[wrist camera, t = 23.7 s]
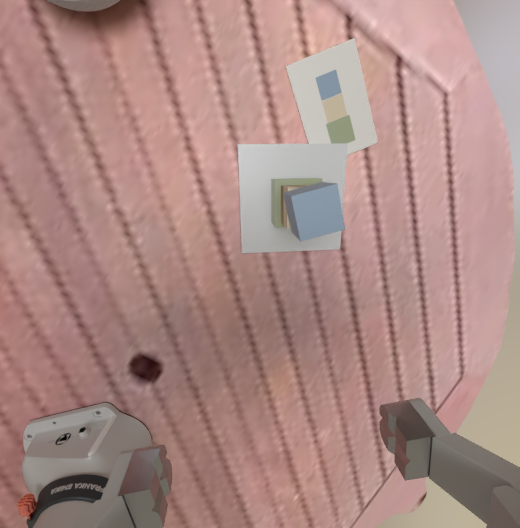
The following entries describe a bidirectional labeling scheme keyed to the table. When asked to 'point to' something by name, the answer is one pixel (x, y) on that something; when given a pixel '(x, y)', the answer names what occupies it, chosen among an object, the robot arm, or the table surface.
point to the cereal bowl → (84, 4)
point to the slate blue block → (314, 210)
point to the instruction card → (333, 98)
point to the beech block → (283, 207)
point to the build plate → (260, 191)
